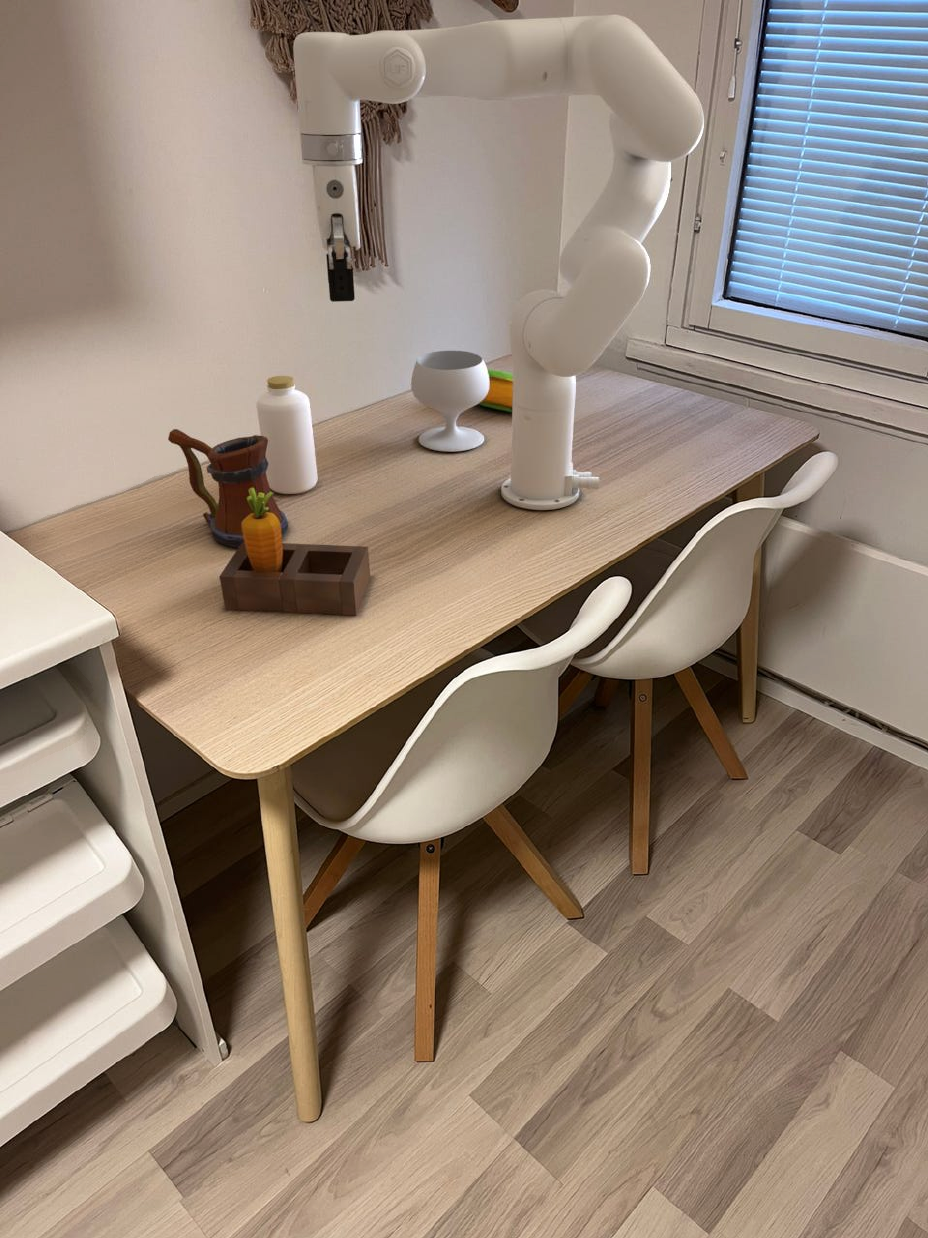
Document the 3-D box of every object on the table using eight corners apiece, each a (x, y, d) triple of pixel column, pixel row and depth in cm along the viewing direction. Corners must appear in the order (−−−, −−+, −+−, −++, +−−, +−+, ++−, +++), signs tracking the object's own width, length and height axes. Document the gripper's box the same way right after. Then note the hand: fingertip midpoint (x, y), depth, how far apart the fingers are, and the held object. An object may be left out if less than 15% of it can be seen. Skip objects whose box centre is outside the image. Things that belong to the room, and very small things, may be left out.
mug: (162, 532, 136) (141, 438, 128) (212, 502, 145) (196, 412, 137) (257, 557, 129) (242, 459, 121) (304, 524, 138) (293, 431, 130)
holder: (370, 578, 124) (368, 546, 121) (356, 615, 116) (353, 582, 113) (247, 573, 125) (242, 541, 123) (225, 609, 117) (219, 576, 115)
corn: (474, 357, 183) (560, 374, 174) (475, 393, 188) (559, 411, 178) (453, 369, 178) (540, 387, 169) (455, 406, 183) (540, 425, 173)
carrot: (254, 583, 123) (238, 482, 115) (290, 582, 123) (277, 480, 115) (249, 602, 119) (233, 498, 111) (287, 600, 119) (274, 497, 111)
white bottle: (308, 498, 146) (296, 389, 136) (260, 494, 147) (244, 386, 137) (325, 477, 153) (314, 372, 143) (278, 474, 154) (265, 370, 144)
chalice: (487, 426, 172) (487, 347, 164) (491, 454, 160) (492, 371, 152) (414, 428, 172) (410, 349, 164) (412, 456, 160) (409, 372, 152)
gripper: (365, 156, 106) (372, 306, 115) (358, 143, 120) (365, 277, 129) (301, 157, 105) (313, 308, 114) (301, 143, 119) (312, 279, 128)
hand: (341, 292), depth 122 cm, fingers open, 9 cm apart
